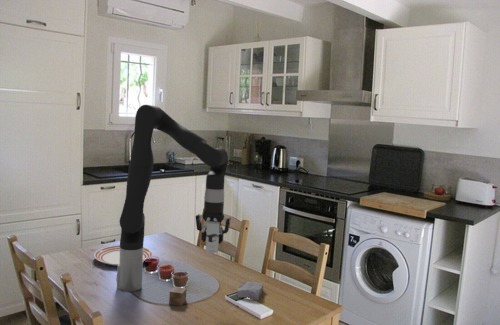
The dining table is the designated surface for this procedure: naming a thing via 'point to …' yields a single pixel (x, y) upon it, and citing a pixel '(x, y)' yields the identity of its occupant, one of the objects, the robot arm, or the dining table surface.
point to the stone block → (250, 290)
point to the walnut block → (177, 296)
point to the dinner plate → (116, 255)
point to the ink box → (212, 237)
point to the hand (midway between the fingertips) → (212, 242)
